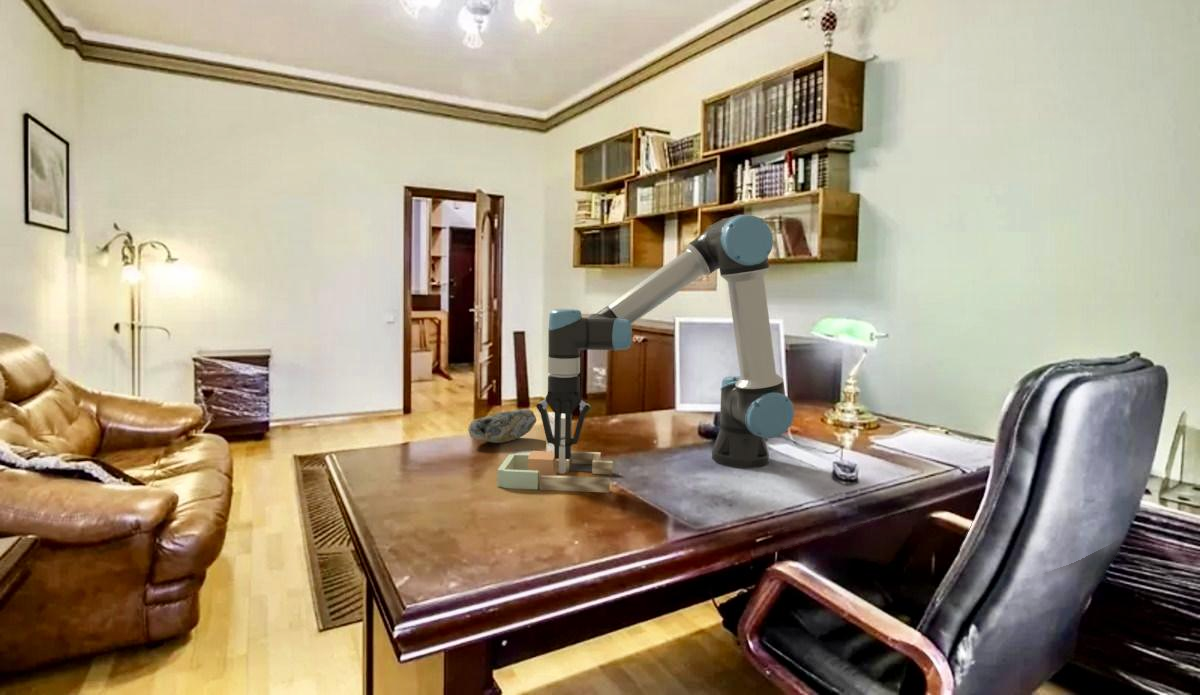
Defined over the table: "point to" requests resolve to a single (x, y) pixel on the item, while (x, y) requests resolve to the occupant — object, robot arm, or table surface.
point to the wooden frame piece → (576, 483)
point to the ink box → (551, 416)
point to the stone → (502, 426)
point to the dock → (517, 473)
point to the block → (542, 462)
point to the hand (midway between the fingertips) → (562, 471)
